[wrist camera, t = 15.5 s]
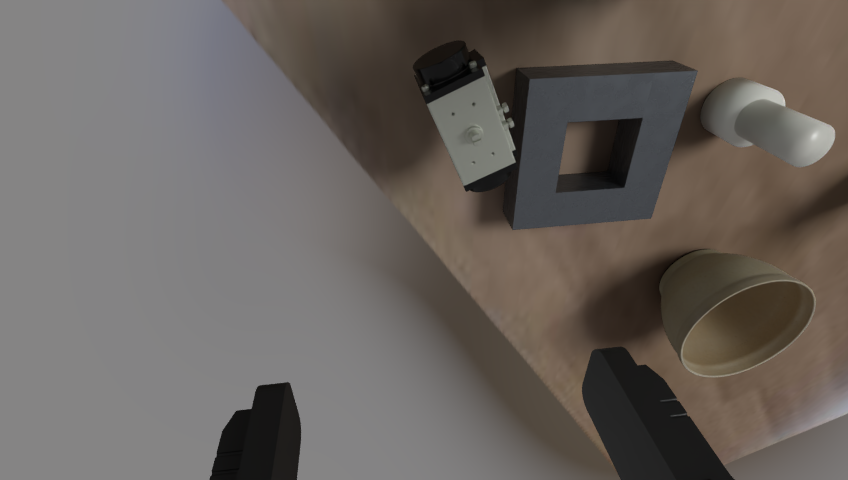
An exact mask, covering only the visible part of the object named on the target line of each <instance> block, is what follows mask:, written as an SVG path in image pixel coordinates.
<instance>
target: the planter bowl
mask: <svg viewBox="0 0 848 480" xmlns="http://www.w3.org/2000/svg"><path fill="white" fill-rule="evenodd" d="M659 291H660V295H661V297H662V298H661V316H662V322H663V326H664V329H665V332H666V335H667V337H668V339H669V341H670V343H671V345H672V346H673V348H674V350H675V351H676V352H677V354H678V357H679V359H680V361H681V363H682V364H683V366H684V367H685V368H686V369H687V370H688V371H689V372H691V373H693V374H695V375H698V376H703V377H724V376H729V375H733V374H737V373H741V372H744V371H746V370H749V369H751V368H754V367H756V366H758V365H760V364H762V363H764V362H766V361H768V360H769V359H771V358H773V357H774V356H776V355H777V354H779V353H780V352H782V351H783V350H784V349H786V348H787V347H788V346H789V345H791V344H792V343H793V342H794V341H795V340H796V339H797V338H798V337H799V336H800V335H801V334H802V332H803V331H804V330H805V329H806V327H807V326H808V324H809V323H810V321H811V319H812V316H813V314H814V311H815V306H816V300H815V295H814V293H813V291H812V290H811V289H810V288H809V287H808V286H807V285H806V284H804V283H803V282H801V281H799V280H797V279H795V278H793V277H791V276H790V275H788V274H787V273H785V272H784V271H782V270H780V269H779V268H777V267H775V266H773V265H771V264H769V263H766V262H764V261H761V260H758V259H755V258H752V257H748V256H743V255H737V254H728V253H721V252H719V251H716V250H711V249H705V250H699V251H695V252H692V253H690V254H687V255H685V256H683V257H682V258H680V259H679V260H677V261H676V262H675V263H673V264H672V265H671V266H670V267H669V268H668V269H667V271H666V272H665V273H664V275H663V277H662V279H661V281H660V285H659Z"/></svg>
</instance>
